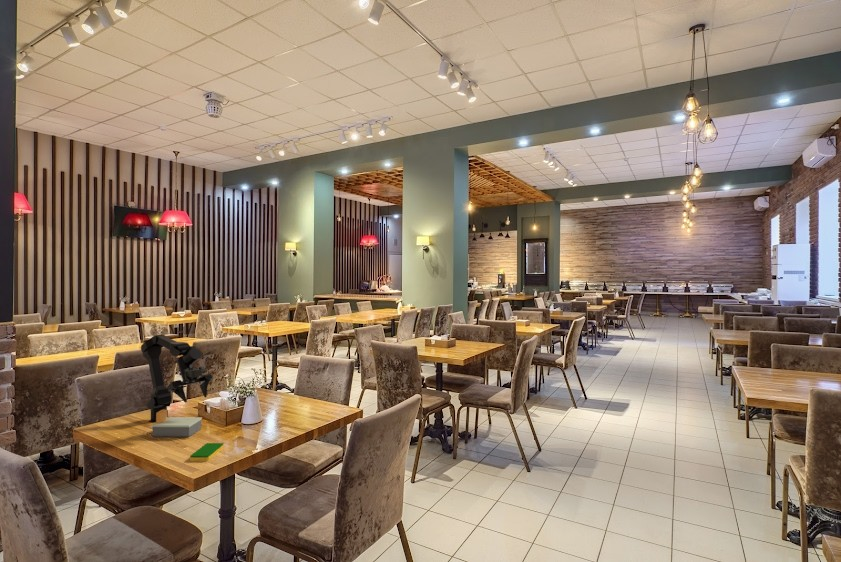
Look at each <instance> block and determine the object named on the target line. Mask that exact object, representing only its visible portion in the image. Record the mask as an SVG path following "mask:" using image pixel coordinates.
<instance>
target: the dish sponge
mask: <svg viewBox="0 0 841 562" xmlns="http://www.w3.org/2000/svg"><path fill="white" fill-rule="evenodd" d="M224 448H225V447H224V443H223V442H208V443H207V442H206V443H205V444H203V445H202V446H201V447H200V448H199V449H197V450H195V452H193V453H192V454H191V455H189V457H190V458H189V461H190V462H209V461H210V460H212V459H213V458H214V457H215V456H216V455H217V454H218V453H219V451H220V452H221V451H222V450H223V449H224ZM213 456H214V457H213ZM212 457H213V458H212Z"/></svg>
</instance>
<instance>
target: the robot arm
mask: <svg viewBox="0 0 841 562" xmlns="http://www.w3.org/2000/svg"><path fill="white" fill-rule="evenodd" d="M162 348H165V349H167V350H169V353H170V355H172V356H173V357H176V359H175V361H174V364H177V367H178V369H179V374H178V375H179V376H180V377H181V379H182V380H181V379H178V380H173V381H171V382H169V384H168V385H167V386H166V385H165V381H164V376H163V372H162V371H163V370H162V366H161V360H160V356H161V354H162V352H163V351H162ZM140 351H141V353H142V355H143V357H144V358H145V359H146V360H147V361H148V363H147V364H148V367H149V368H148V369H149V374H150V379H151V383H152V391H151V394H150V399H149V401H148V402H147V404H146V407H147V409H148V410H150V419H149V420H148V422H150V423H154V422H155V423H156V413H157V412H159V411H161V410H167V417H169V410H168V407H170V406H171V404H172V403H171V402H172V398H173V397H172V393H174V394H175V395H177V396H178V397H179V398H180V400H182V401H183V402H184V403H187V402H188V399H187V396H186V393H185V390H184V386H189V385H192V384H197V383H199V388H200V390H201V392H202V394H203V395H202V396H203V397H204V398H207V396H208V394H207V393H208V385H209V384H210V382H211V381H212V380H213V379H214V376H213V374H212V373H207V374H205V373H206V372H207V371H206V367H205V365H204V366H199V367H198V369H197V368H196V367H195V366H194V365H193V364H195V363H196V362H197V361H199V359H201V358H202V356H203V352H202V351H201V350H200V349H199V348H198V347H197V346H195V345H189V343H188V342H185V341H176V340H174V339H172V338H171V337H168V336H166V335H165V334H164V333H163V334H155V335H153V336H152V337H151V338H149V339H147V340H145V341H144V342H143V343H142V344H141V346H140Z"/></svg>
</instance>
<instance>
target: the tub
mask: <svg viewBox="0 0 841 562" xmlns="http://www.w3.org/2000/svg"><path fill="white" fill-rule="evenodd" d="M200 430H202V419H201V420H200V421H198V422H197V423H195V424H194V425H192V426H190V427H152V438H190V437H192V436H193V435H195V434H196V433H198V432H199V431H200Z"/></svg>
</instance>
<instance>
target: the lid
mask: <svg viewBox="0 0 841 562" xmlns="http://www.w3.org/2000/svg"><path fill="white" fill-rule="evenodd" d="M167 410H168V409H167ZM167 410H161V411H159V412H157V413H156V422H155V423H153V424H152V425H151V427H152V428H153V427H190V426H192V425H194V424H195V423H197V422H198V421H200V420H201V421H202V419H203V417H202V416H201V417H197V416H196V417H194V416H193V417H191V416H190V417H186V416H181V417H179V416H178V417H177V416H173V417H170V416H168V417H167Z"/></svg>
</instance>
